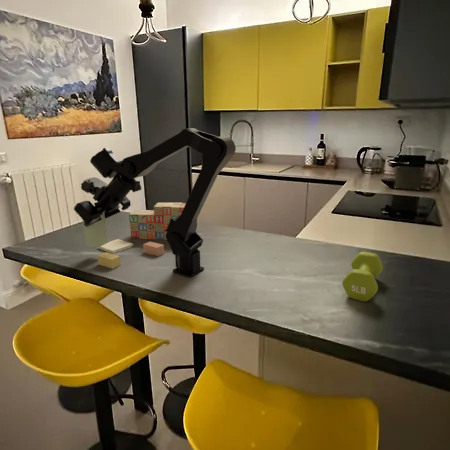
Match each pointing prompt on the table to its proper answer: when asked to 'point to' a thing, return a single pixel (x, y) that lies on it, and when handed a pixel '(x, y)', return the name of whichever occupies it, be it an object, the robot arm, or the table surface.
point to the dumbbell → (363, 276)
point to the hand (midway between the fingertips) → (90, 223)
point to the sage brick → (96, 233)
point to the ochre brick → (109, 260)
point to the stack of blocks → (153, 220)
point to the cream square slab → (115, 246)
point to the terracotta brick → (153, 248)
